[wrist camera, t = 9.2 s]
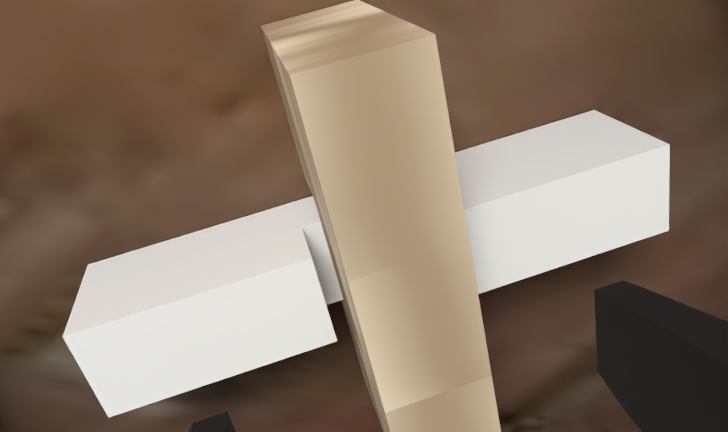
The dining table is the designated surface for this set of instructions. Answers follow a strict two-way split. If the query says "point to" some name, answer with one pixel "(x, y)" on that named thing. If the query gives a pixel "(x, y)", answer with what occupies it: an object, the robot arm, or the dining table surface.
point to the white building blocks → (316, 271)
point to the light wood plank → (389, 210)
